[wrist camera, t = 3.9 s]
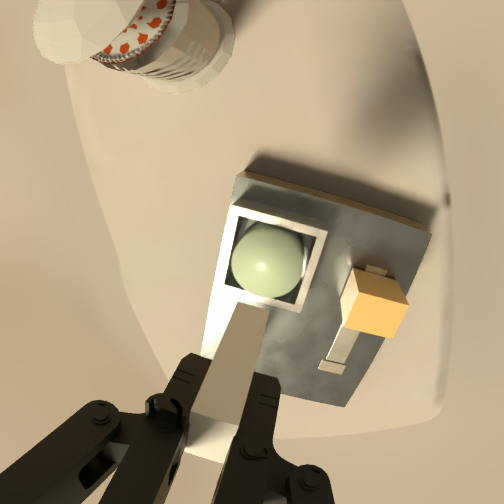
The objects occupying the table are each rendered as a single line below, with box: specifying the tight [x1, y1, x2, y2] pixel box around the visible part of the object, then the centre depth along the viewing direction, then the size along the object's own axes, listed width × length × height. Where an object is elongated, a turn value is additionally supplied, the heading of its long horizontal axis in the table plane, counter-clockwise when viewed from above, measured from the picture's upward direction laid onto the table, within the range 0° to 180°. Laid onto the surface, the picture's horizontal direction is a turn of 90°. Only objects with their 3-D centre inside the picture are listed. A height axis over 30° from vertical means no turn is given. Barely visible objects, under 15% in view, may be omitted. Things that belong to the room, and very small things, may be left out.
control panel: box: [200, 171, 432, 407], centre depth 28 cm, size 20×16×6 cm
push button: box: [231, 221, 304, 298], centre depth 24 cm, size 5×5×3 cm
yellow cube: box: [340, 268, 409, 339], centre depth 23 cm, size 3×4×4 cm
